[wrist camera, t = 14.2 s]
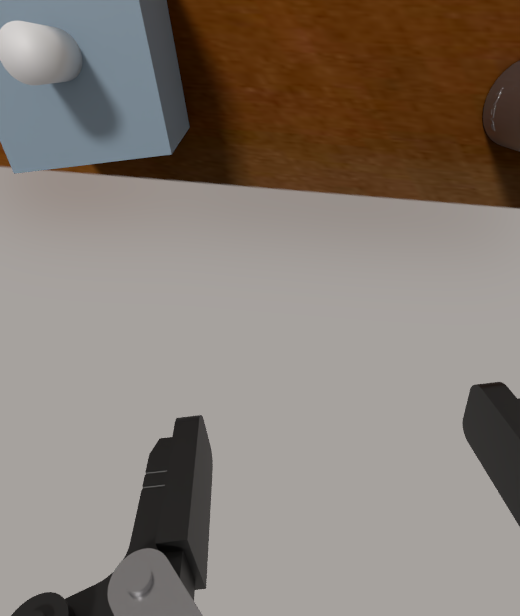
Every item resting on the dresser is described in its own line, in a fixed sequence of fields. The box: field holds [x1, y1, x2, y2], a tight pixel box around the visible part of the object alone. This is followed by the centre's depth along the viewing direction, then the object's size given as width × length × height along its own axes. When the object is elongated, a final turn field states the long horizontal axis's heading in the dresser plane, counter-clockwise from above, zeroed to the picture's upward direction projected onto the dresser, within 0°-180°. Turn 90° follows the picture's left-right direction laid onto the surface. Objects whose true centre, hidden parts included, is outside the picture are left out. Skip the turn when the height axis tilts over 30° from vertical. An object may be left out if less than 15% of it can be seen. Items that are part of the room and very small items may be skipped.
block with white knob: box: [0, 0, 190, 173], centre depth 32 cm, size 13×15×20 cm
